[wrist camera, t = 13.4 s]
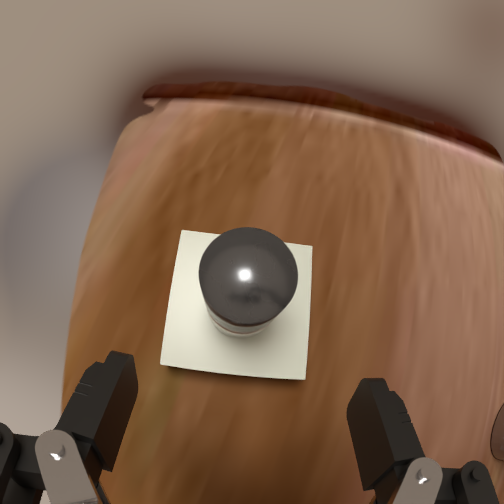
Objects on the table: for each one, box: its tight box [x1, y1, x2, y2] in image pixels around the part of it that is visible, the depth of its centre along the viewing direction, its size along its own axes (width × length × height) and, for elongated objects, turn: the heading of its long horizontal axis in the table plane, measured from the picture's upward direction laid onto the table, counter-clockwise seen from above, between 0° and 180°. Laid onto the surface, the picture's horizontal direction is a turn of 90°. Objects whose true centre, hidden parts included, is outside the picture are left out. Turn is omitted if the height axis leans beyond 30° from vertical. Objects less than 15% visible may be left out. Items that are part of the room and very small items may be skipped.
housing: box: [198, 227, 298, 338], centre depth 20 cm, size 5×5×8 cm
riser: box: [160, 230, 312, 380], centre depth 25 cm, size 11×11×3 cm
